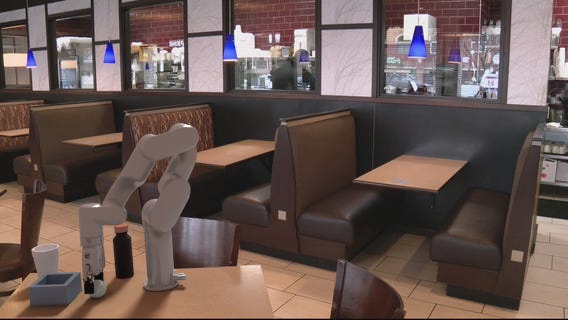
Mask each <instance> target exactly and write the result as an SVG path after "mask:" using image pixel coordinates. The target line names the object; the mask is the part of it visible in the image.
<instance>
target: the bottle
mask: <svg viewBox="0 0 568 320" xmlns="http://www.w3.org/2000/svg"><path fill="white" fill-rule="evenodd" d="M113 230H114V234H115V236H114V237H113V238H112V248H113V259H114V270H115V271H114V272H115V278H116V279H119V280H124V279H125V280H127V279H130V278H132V277H133V276H134V275H135V268H134V256H133V242H132V236H131V235H130V234H128V232H129V225H128V224H127V223H122V224H119V225H113Z"/></svg>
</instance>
